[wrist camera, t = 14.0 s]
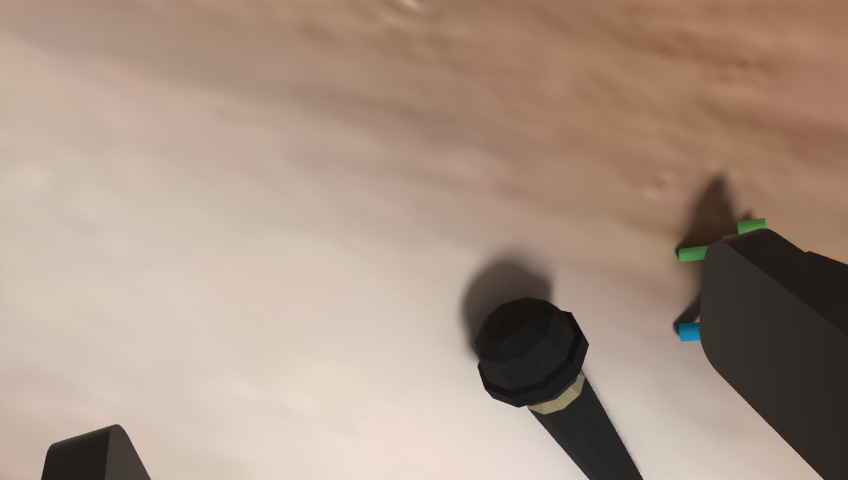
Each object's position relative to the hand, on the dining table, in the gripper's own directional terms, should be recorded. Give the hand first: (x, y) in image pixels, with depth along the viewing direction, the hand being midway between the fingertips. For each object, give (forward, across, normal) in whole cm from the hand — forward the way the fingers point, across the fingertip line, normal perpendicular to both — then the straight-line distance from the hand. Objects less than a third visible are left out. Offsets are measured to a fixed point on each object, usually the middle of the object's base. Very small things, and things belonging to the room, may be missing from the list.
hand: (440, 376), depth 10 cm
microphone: (+20, -10, +25) cm, 33 cm away
